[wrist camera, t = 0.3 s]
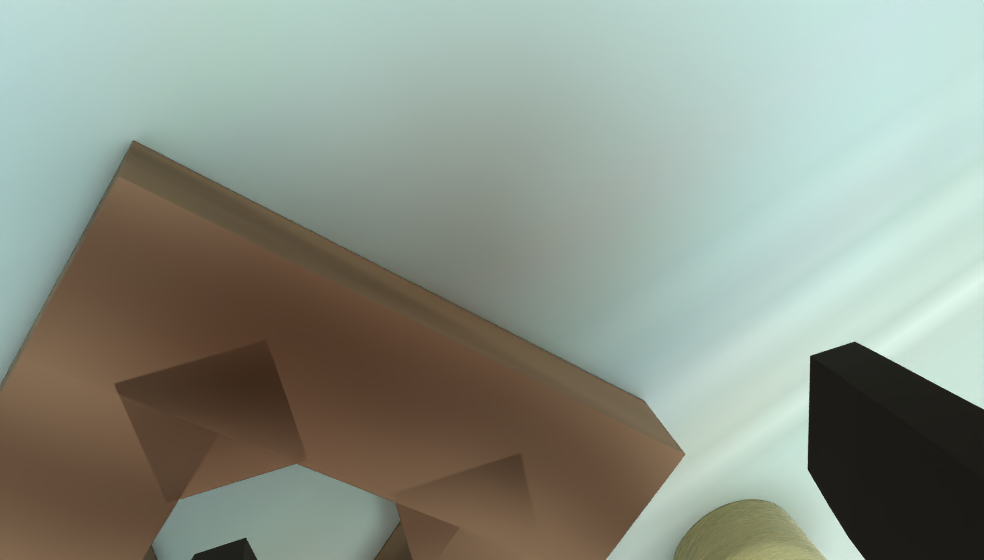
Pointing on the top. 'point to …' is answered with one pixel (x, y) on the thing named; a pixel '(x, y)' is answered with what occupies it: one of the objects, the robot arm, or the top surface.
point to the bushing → (747, 535)
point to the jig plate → (296, 393)
